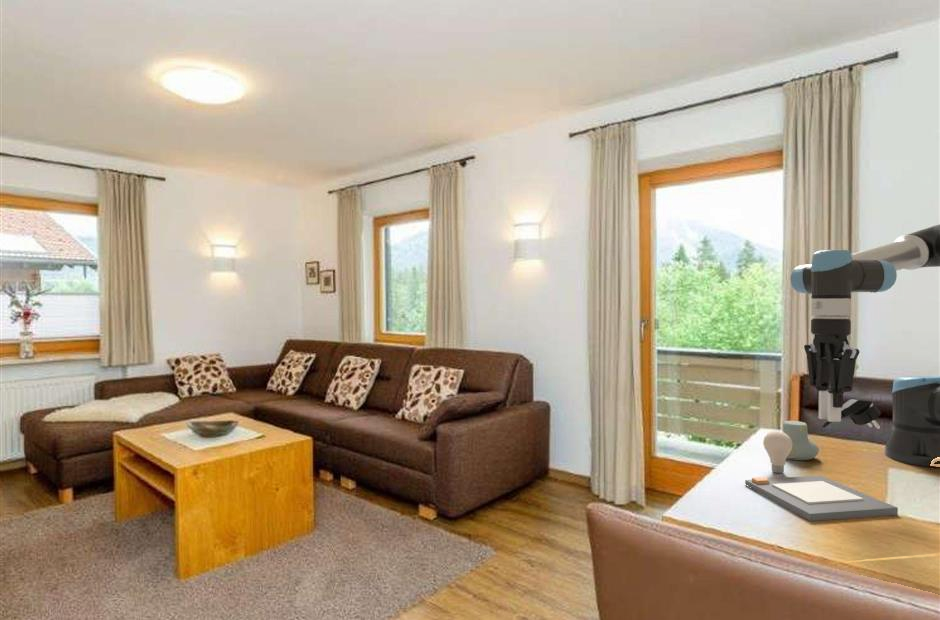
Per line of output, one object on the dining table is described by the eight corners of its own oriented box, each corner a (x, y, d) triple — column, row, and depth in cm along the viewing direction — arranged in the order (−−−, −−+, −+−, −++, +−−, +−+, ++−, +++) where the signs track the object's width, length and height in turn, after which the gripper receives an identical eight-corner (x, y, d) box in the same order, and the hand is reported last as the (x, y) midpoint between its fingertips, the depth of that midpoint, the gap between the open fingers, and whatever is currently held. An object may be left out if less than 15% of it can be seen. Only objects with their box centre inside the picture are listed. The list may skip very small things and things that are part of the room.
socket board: (820, 481, 127) (820, 472, 127) (897, 514, 107) (897, 503, 107) (745, 486, 124) (745, 476, 124) (809, 521, 105) (809, 509, 105)
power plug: (813, 422, 122) (855, 392, 122) (834, 448, 121) (876, 418, 121) (828, 425, 116) (871, 394, 116) (850, 453, 116) (894, 421, 115)
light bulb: (795, 473, 133) (795, 430, 133) (789, 479, 128) (789, 435, 128) (766, 467, 138) (766, 426, 138) (760, 473, 133) (759, 431, 133)
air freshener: (824, 461, 142) (824, 425, 142) (804, 465, 139) (804, 428, 139) (786, 451, 152) (786, 417, 152) (767, 454, 149) (767, 420, 149)
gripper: (791, 316, 126) (790, 413, 126) (843, 318, 111) (841, 428, 111) (819, 316, 126) (818, 412, 127) (874, 318, 112) (873, 427, 112)
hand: (829, 419), depth 119 cm, fingers closed on power plug, 2 cm apart
